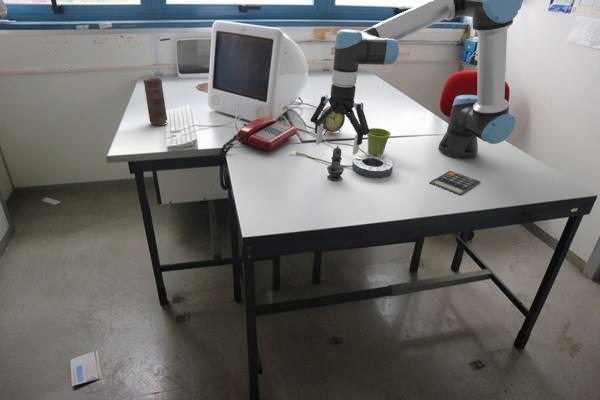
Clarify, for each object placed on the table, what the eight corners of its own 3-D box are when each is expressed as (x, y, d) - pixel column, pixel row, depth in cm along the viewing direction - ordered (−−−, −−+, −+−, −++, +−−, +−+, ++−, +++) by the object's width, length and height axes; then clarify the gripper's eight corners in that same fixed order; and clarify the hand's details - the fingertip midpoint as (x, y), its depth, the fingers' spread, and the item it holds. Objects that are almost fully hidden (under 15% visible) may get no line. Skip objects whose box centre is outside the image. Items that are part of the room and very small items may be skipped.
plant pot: (390, 151, 165) (394, 131, 160) (382, 159, 158) (385, 138, 153) (369, 146, 169) (371, 126, 164) (360, 153, 162) (362, 133, 157)
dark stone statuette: (342, 174, 144) (345, 142, 139) (344, 182, 139) (347, 149, 133) (325, 174, 144) (328, 142, 138) (327, 181, 139) (329, 148, 133)
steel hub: (396, 168, 151) (398, 160, 150) (382, 182, 141) (384, 173, 139) (361, 158, 157) (362, 151, 156) (346, 171, 147) (346, 163, 145)
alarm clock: (324, 136, 176) (327, 99, 168) (317, 132, 180) (319, 96, 172) (344, 132, 182) (347, 96, 174) (336, 129, 185) (340, 93, 177)
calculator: (480, 181, 144) (460, 194, 134) (480, 183, 144) (460, 196, 135) (450, 169, 151) (429, 181, 141) (449, 172, 151) (428, 184, 142)
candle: (153, 127, 176) (147, 81, 166) (147, 123, 181) (140, 77, 171) (170, 124, 180) (165, 78, 171) (163, 120, 185) (158, 75, 175)
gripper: (386, 89, 123) (375, 154, 134) (314, 75, 134) (310, 136, 144) (376, 94, 118) (366, 161, 128) (302, 79, 128) (299, 142, 139)
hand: (336, 148), depth 136 cm, fingers open, 13 cm apart
